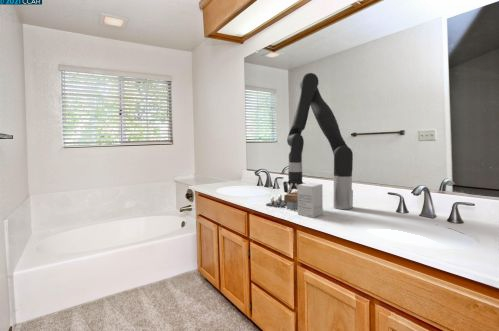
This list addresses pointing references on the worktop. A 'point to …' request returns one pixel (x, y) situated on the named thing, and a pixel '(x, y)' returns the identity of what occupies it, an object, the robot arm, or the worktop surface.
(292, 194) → the brown wooden block
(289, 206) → the stand
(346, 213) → the worktop surface
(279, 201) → the peg base
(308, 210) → the supplement box
